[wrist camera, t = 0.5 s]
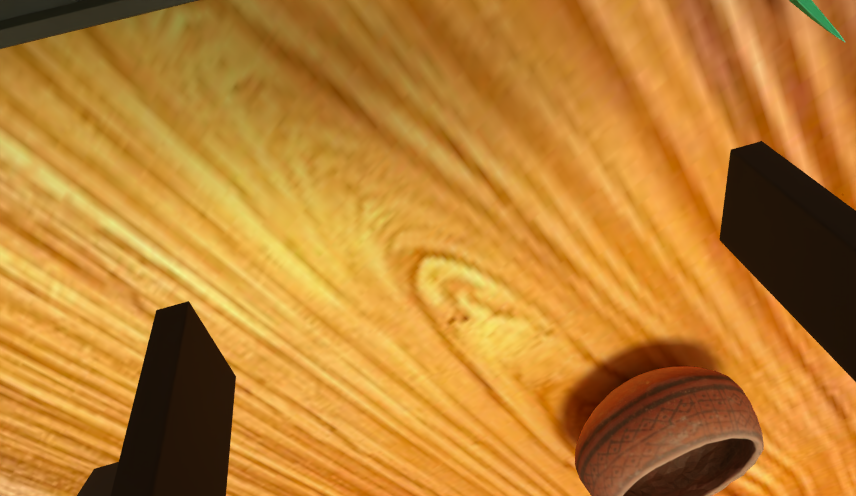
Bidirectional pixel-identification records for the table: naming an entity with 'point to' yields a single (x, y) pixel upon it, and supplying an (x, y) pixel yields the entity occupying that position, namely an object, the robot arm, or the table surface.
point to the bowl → (669, 436)
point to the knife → (816, 15)
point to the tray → (66, 16)
